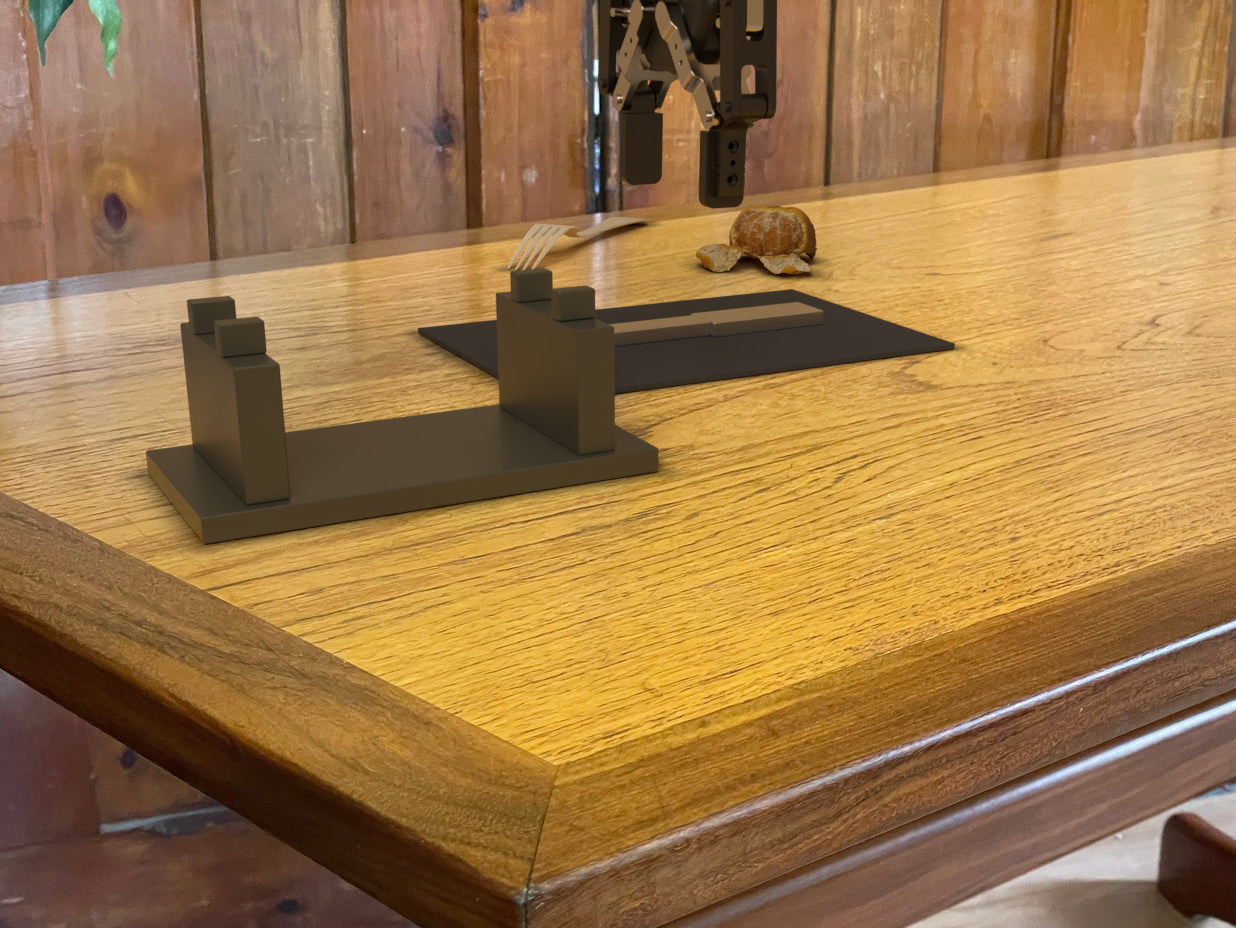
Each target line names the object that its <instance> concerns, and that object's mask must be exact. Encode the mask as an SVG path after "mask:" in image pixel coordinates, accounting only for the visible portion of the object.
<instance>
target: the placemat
mask: <svg viewBox="0 0 1236 928" xmlns="http://www.w3.org/2000/svg"><path fill="white" fill-rule="evenodd" d="M793 302H800V303H802V304H805V305H808V306H811V307H814V308H817V309H820V310H823V324H822V325H815V326H806V327H798V328H789V329H781V330H772V331H764V332H755V333H746V334H738V335H729V336H721V337H713V336H710V335H709V336H704V337H695V338H686V339H678V340H669V341H661V342H652V343H643V344H635V345H626V346H618V347H614V375H615V395H616V394H622V393H623V394H624V393H630V392H631V393H632V392H638V391H644V390H645V391H647V390H653V389H661V388H669V387H675V386H683V385H691V384H699V383H706V382H713V381H714V382H715V381H721V380H722V381H723V380H729V379H736V378H743V377H744V378H745V377H751V376H752V377H753V376H758V375H767V374H774V373H781V372H789V371H797V370H805V369H812V368H820V367H825V366H826V367H828V366H835V365H840V364H841V365H842V364H849V363H858V362H864V361H872V360H873V361H874V360H880V359H887V358H894V357H902V356H910V355H916V354H917V355H918V354H925V353H932V352H941V351H947V350H955V347H956V346H955V342H951V341H949V340H945V339H942V338H939V337H937V336H933V335H930V334H927V333H925V332H922V331H918V330H916V329H913V328H911V327H910V328H909V327H908V326H904V325H901V324H898V323H894V322H892V321H888V320H885V319H882V318H879V317H877V316H874V315H871V314H868V313H865V312H861V311H859V310H855V309H853V308H849V307H847V306H844V305H840V304H837V303H835V302H832V301H829V300H826V299H823V298H820V297H817V296H814V295H812V294H811V295H810V294H807V293H805V292H802V291H800V290H799V291H798V290H795V289H793V288H789V289H781V290H780V289H779V290H770V291H761V292H754V293H753V292H752V293H751V292H750V293H742V294H741V293H740V294H734V295H733V294H732V295H722V296H713V297H704V298H703V297H702V298H693V299H683V300H674V301H665V302H655V303H646V304H645V303H644V304H637V305H636V304H634V305H626V306H617V307H607V308H597V309H596V308H595V319H597V320H599V321H602V322H604V323H606V324H617V323H626V322H636V321H645V320H654V319H663V318H672V317H681V316H691V314H692V313H701V312H710V311H720V310H729V309H738V308H747V307H756V306H766V305H775V304H784V303H793ZM417 333H418V334H419V335H421V336H423V337H425V338H426V339H428V340H430V341H431V342H433V343H435V344H437V345H438V346H440V347H442V348H444V349H445V350H447V351H449V352H450V353H452V354H454V355H455V356H457V357H459V358H461V359H463V360H464V361H466V362H468V363H469V364H471V365H473V366H474V367H476V368H478V369H480V370H481V371H484V373H487V374H489V375H491V376H492V377H493V378H496V379H497V380H499V377H498V347H497V319H490V320H482V321H480V320H479V321H473V322H463V323H461V322H460V323H452V324H444V325H443V324H442V325H434V326H433V325H432V326H423V327H418V328H417Z"/></svg>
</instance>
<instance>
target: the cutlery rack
mask: <svg viewBox="0 0 1236 928" xmlns="http://www.w3.org/2000/svg"><path fill="white" fill-rule="evenodd" d="M509 274H510V275H509V276H510V279H509V281H510V291H501V292H500V291H499V292H495V312H496V313H495V314H496V320H497V347H498V377H499V379H498V404H489V405H484V406H474V407H468V408H467V407H466V408H460V409H459V408H458V409H454V410H445V411H444V410H443V411H437V412H430V413H423V414H422V413H421V414H413V415H407V416H400V417H398V416H397V417H391V418H385V419H377V420H376V419H375V420H367V421H362V422H353V423H347V424H338V425H330V426H322V427H315V428H308V429H300V430H292V431H286V425H285V424H286V423H285V412H284V402H283V389H282V378H281V364H280V363H279V362H277V361H276V360H274V359H273V358H272V357H271V356H269V355H268V354H267V351H268V350H267V339H266V326H265V321H264V320H263V319H262V318H260V317H259V316H250V317H249V316H247V317H238V318H237V309H236V308H237V307H236V300H235V299H234V298H233V297H231V296H230V295H224V296H223V295H222V296H212V297H201V298H189V299H187V300H186V307H187V317H188V318H187V319H188V321H187V322H181V323H180V337H181V345H182V355H183V365H184V374H185V384H186V393H187V394H186V395H187V405H188V412H189V413H188V415H189V423H190V433H191V443H192V444H185V445H177V446H171V447H162V448H153V449H147V450H145V459H146V468H147V474H148V475H149V477H150V478H151V479H152V480H153V482H154V483H155V484H156V486H157V487H158V488H159V489H160V491H161V492H162V493H163V494H164V496H165V497H166V498H167V499H168V501H169V502H170V504H172V506H173V507H174V508H175V509H176V510H177V512H178V513H179V514H180V516H181V517H182V518H183V520H184V521H185V522H186V523H187V525H188V526H189V527H190V528H191V529H192V531H193V532H194V533H195V535H196V536H197V537H198V539H199V540H200V541H201V542H202V543H203V544H204V545H207V544H214V543H220V542H227V541H233V540H238V539H246V538H251V537H258V536H265V535H270V534H277V533H283V532H290V531H296V530H302V529H308V528H314V527H320V526H326V525H327V526H328V525H333V524H338V523H345V522H346V523H347V522H351V521H358V520H365V519H369V518H376V517H383V516H388V515H393V514H400V513H407V512H413V511H419V510H425V509H426V510H427V509H430V508H439V507H444V506H450V505H458V504H462V503H468V502H469V503H471V502H477V501H482V500H488V499H494V498H501V497H506V496H513V495H519V494H526V493H532V492H537V491H538V492H539V491H544V490H549V489H551V490H552V489H558V488H563V487H568V486H569V487H570V486H574V485H582V484H587V483H595V482H601V481H607V480H613V479H618V478H619V479H620V478H625V477H629V476H630V477H631V476H637V475H645V474H649V473H656V472H657V473H658V471H659V448H658V447H657V446H655V445H653V444H651V443H650V442H648V441H646V440H644V439H642V438H640V437H639V436H637V435H634V434H633V433H632V432H630V431H628V430H626V429H624V428H623V427H620V426H619V425H617V424H616V400H615V399H616V394H615V375H614V327H613V326H611V325H608V324H606V323H604V322H602V321H599V320H597V319H595V310H596V289H595V288H594V287H591V286H589V285H576V286H566V287H565V286H564V287H555V288H554V286H553V281H554V280H553V271H552V270H550V269H548V268H545V267H543V268H540V267H539V268H534V269H531V268H528V269H525V270H523V269H519V270H518V269H517V270H512V271H511V270H510V272H509Z"/></svg>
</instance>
